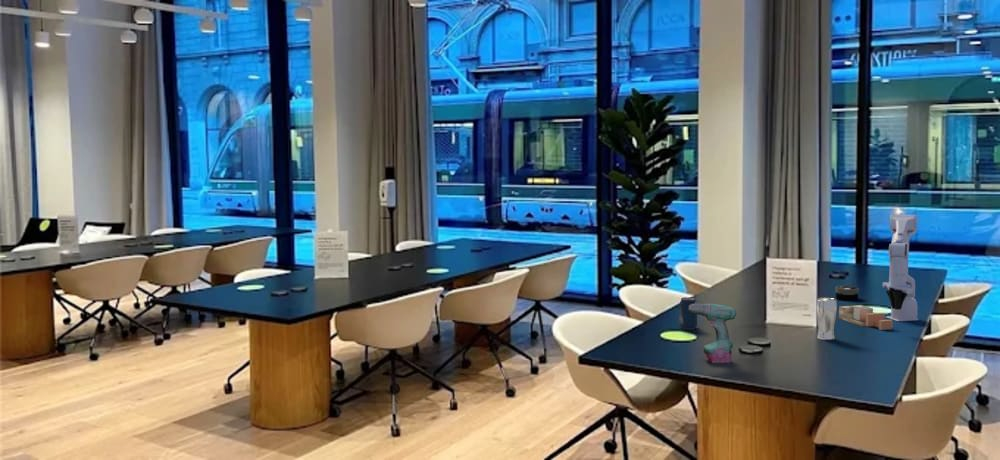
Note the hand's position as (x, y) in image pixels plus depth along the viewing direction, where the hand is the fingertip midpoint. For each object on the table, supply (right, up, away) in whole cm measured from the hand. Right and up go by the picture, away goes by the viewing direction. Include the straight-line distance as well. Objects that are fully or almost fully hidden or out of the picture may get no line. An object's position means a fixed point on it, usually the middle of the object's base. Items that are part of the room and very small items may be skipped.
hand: (896, 308), depth 307 cm
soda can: (-77, -9, +16) cm, 79 cm away
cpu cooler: (+11, -3, +69) cm, 70 cm away
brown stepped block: (-2, -8, +10) cm, 13 cm away
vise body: (-4, -7, +21) cm, 23 cm away
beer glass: (-30, -11, -6) cm, 32 cm away
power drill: (-80, -15, -34) cm, 88 cm away
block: (-4, -8, +20) cm, 22 cm away
